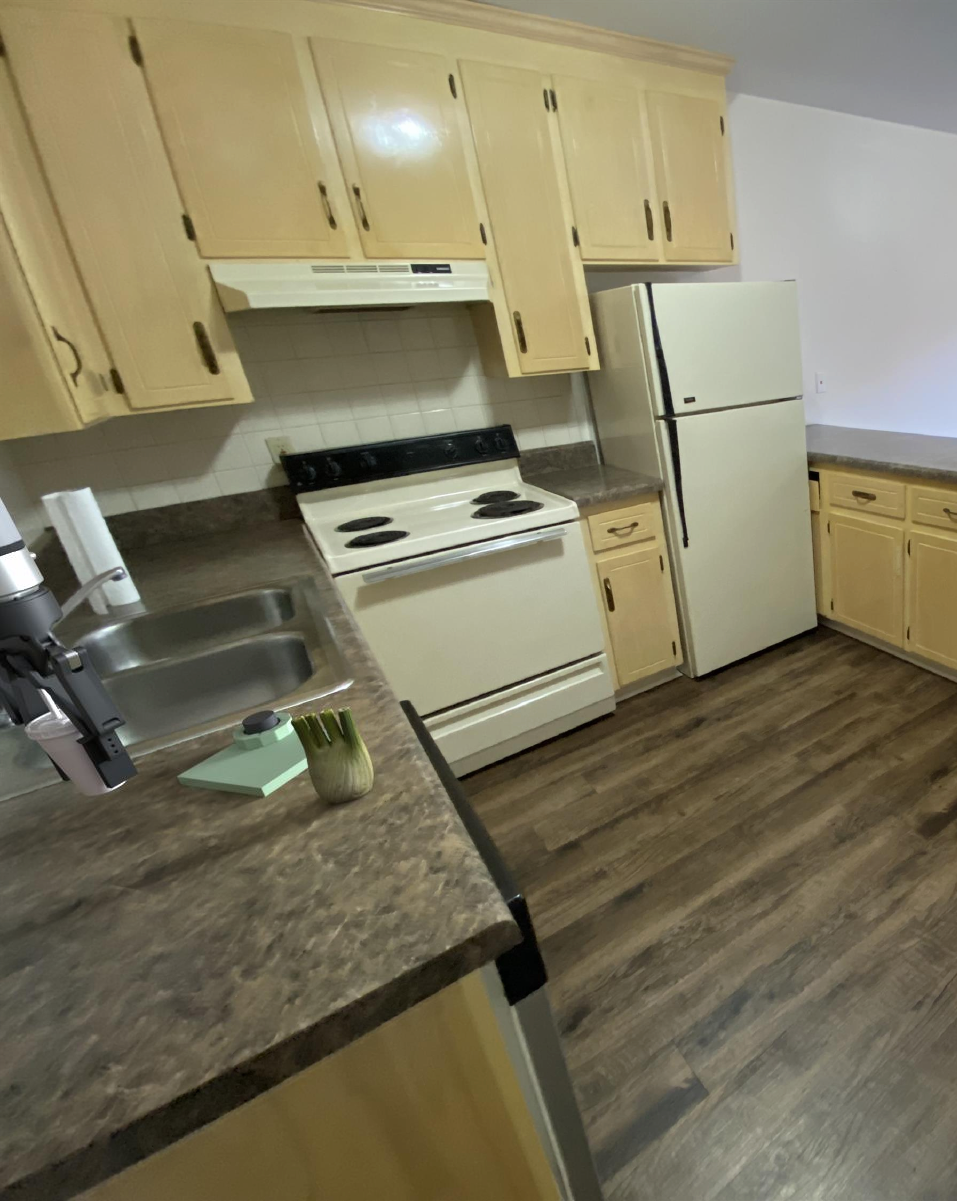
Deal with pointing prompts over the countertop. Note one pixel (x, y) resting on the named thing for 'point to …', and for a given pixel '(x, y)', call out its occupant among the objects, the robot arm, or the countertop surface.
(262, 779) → the scale
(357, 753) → the fennel bulb
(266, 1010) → the countertop surface
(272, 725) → the button
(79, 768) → the smoothie
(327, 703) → the countertop surface
